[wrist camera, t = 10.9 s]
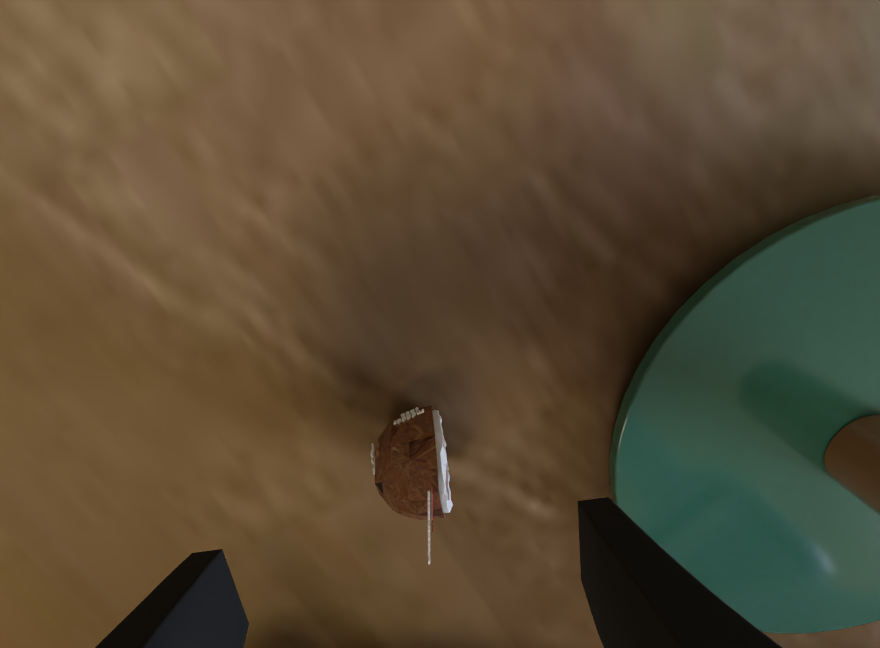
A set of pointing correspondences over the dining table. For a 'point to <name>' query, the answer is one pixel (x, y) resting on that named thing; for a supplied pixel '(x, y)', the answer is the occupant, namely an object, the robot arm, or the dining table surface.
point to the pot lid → (768, 428)
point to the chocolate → (414, 466)
